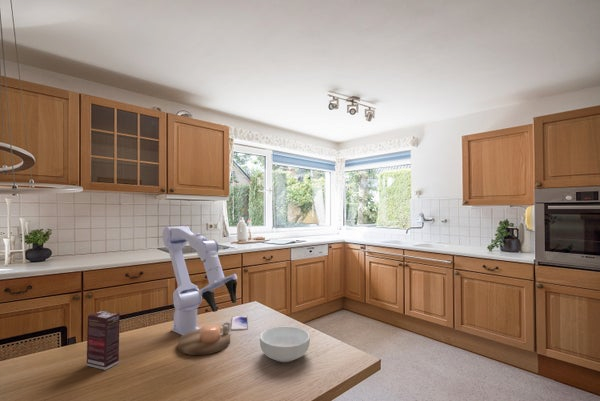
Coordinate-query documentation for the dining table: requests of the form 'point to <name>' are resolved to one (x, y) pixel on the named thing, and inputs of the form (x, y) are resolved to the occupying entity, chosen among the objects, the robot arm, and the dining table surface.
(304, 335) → the cereal bowl
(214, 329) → the peach knob
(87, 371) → the dining table surface
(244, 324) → the smartphone
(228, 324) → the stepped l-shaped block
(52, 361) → the dining table surface
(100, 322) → the supplement box
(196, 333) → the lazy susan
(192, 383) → the dining table surface
